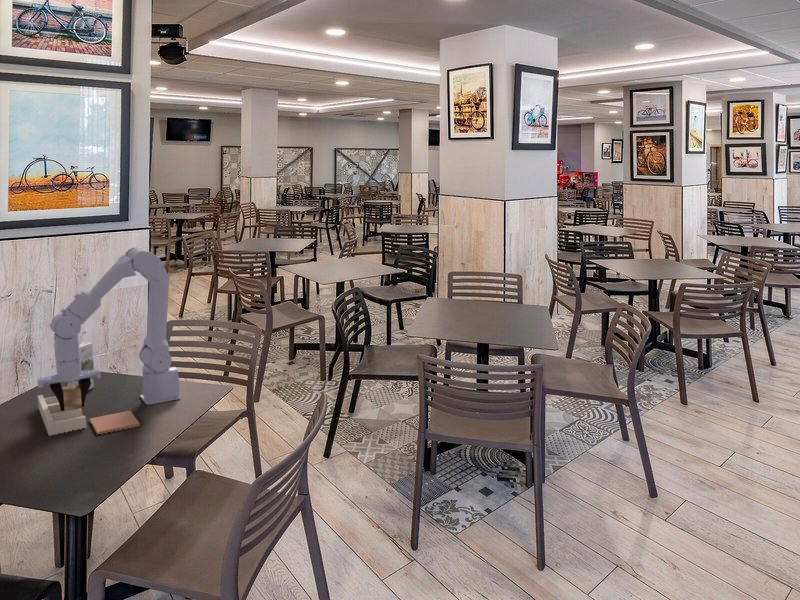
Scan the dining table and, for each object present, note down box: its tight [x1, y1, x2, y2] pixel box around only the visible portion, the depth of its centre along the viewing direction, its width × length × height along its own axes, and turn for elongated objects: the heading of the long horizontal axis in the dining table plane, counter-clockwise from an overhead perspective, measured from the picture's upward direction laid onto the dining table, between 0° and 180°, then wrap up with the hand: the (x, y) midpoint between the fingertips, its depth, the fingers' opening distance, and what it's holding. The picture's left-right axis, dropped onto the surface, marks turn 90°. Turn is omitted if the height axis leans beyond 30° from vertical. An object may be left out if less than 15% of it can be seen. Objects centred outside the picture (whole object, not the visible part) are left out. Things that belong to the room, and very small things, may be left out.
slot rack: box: [37, 394, 88, 437], centre depth 154 cm, size 8×20×4 cm, turn 37°
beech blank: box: [62, 385, 84, 416], centre depth 156 cm, size 4×4×8 cm
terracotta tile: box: [89, 410, 141, 436], centre depth 153 cm, size 10×10×1 cm
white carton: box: [64, 340, 96, 392], centre depth 173 cm, size 6×6×14 cm
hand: (72, 407), depth 156 cm, fingers closed on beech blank, 4 cm apart
